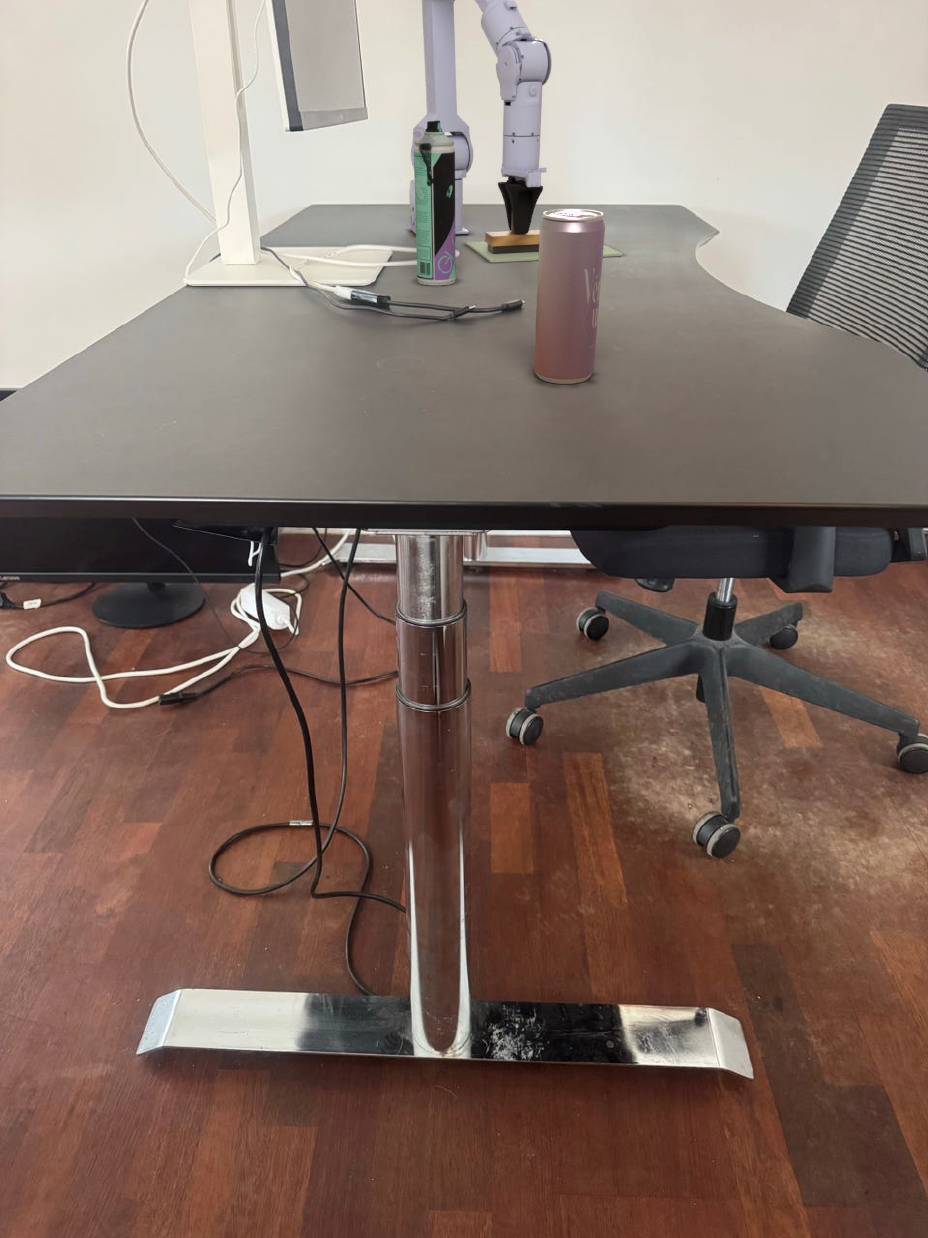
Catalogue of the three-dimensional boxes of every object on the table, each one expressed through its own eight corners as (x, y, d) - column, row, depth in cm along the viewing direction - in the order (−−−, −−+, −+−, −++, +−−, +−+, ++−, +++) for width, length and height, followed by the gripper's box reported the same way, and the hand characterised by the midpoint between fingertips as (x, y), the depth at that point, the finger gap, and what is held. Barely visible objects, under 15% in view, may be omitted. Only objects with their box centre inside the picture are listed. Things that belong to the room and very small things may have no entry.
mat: (490, 262, 136) (490, 259, 135) (465, 244, 149) (465, 241, 149) (622, 255, 140) (622, 253, 140) (586, 238, 153) (587, 236, 153)
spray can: (455, 285, 122) (454, 121, 111) (416, 285, 122) (411, 121, 111) (456, 277, 127) (455, 118, 116) (418, 277, 127) (414, 118, 116)
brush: (491, 254, 139) (492, 208, 135) (485, 249, 142) (485, 204, 139) (551, 251, 141) (553, 206, 137) (543, 247, 144) (545, 202, 141)
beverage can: (555, 363, 91) (564, 206, 83) (604, 374, 88) (618, 212, 80) (521, 377, 87) (527, 213, 79) (571, 389, 84) (583, 220, 76)
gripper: (562, 138, 128) (557, 238, 135) (532, 131, 139) (529, 223, 147) (516, 139, 126) (513, 240, 134) (489, 132, 138) (488, 225, 145)
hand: (518, 231), depth 140 cm, fingers closed on brush, 2 cm apart
